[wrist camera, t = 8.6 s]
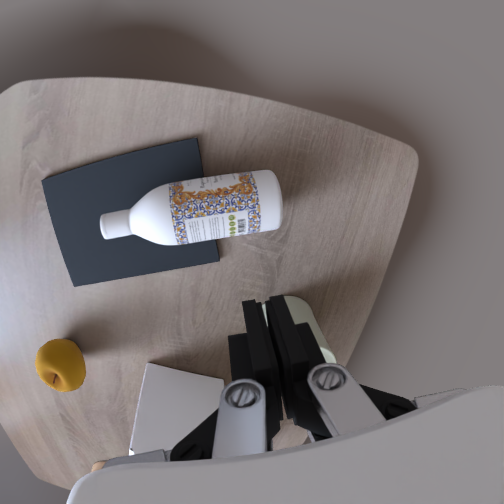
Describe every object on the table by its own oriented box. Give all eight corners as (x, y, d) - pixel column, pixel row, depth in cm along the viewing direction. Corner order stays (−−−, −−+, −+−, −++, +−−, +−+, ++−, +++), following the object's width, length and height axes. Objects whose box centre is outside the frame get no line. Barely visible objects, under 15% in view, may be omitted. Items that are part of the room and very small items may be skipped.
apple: (58, 365, 45) (41, 399, 36) (41, 325, 41) (18, 358, 33) (99, 368, 45) (86, 405, 37) (84, 326, 42) (64, 362, 34)
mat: (197, 137, 34) (196, 137, 34) (219, 259, 41) (219, 261, 40) (43, 179, 33) (41, 180, 33) (75, 285, 39) (74, 287, 39)
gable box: (147, 360, 45) (119, 519, 20) (224, 377, 48) (239, 533, 23) (135, 430, 52) (120, 546, 27) (195, 442, 55) (199, 558, 30)
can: (260, 351, 47) (273, 408, 36) (245, 305, 44) (256, 361, 32) (316, 335, 47) (341, 387, 36) (307, 287, 44) (335, 337, 33)
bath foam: (284, 181, 30) (87, 213, 27) (284, 240, 34) (107, 269, 31) (267, 161, 36) (102, 188, 33) (268, 212, 40) (116, 237, 37)
